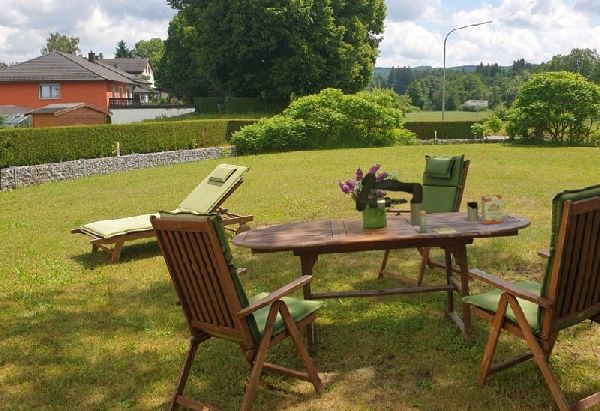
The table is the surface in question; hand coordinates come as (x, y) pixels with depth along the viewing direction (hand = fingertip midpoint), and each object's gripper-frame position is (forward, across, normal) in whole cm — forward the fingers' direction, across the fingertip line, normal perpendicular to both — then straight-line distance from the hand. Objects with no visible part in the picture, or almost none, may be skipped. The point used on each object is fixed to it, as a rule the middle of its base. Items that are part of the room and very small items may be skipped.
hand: (406, 200), depth 422 cm
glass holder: (+60, -37, -24) cm, 75 cm away
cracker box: (+67, -20, -24) cm, 74 cm away
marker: (+11, 0, -24) cm, 26 cm away
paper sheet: (+26, 0, -24) cm, 35 cm away
